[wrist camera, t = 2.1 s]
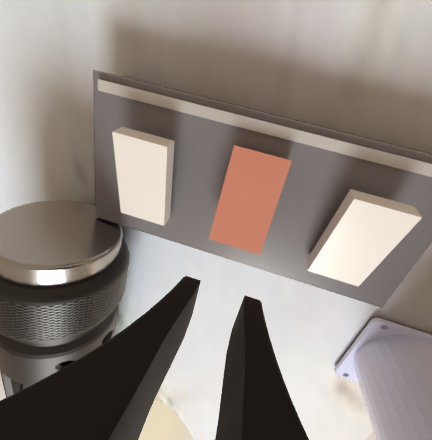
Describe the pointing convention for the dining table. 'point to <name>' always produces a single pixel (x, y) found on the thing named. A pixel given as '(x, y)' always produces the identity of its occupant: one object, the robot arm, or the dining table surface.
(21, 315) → the muzzle brake
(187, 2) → the dining table surface
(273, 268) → the switch box
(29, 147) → the dining table surface
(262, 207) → the rocker middle
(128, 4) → the dining table surface
